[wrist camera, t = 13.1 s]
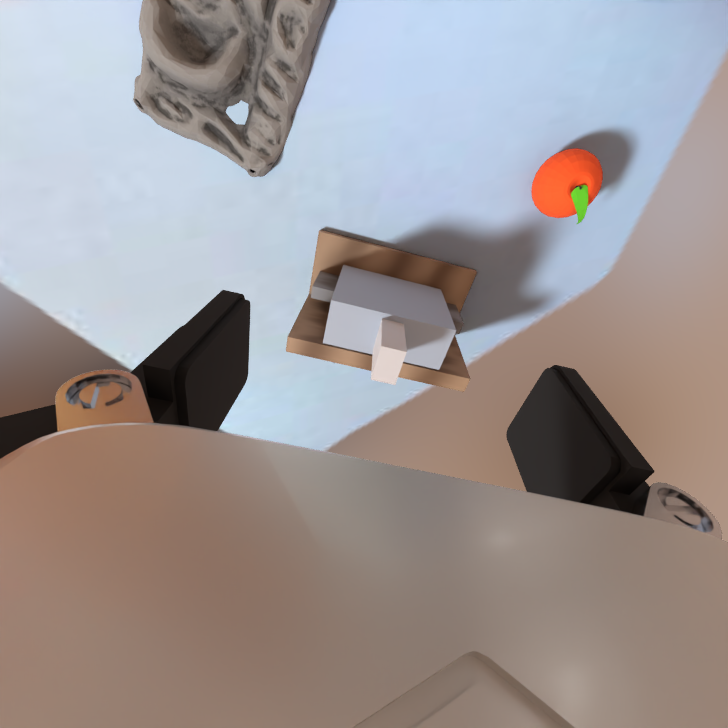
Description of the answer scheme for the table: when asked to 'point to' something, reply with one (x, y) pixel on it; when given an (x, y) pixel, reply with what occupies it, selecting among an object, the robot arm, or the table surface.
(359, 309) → the white box with handle
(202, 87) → the wall plaque
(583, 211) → the clementine
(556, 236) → the table surface
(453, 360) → the wooden stand
